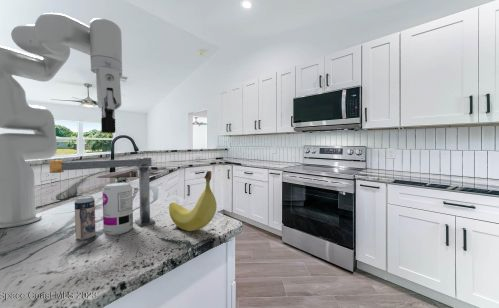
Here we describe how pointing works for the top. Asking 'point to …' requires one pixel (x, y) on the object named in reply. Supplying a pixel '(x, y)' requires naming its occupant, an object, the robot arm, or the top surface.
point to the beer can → (85, 217)
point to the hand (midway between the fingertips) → (108, 132)
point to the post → (144, 198)
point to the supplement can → (117, 208)
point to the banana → (195, 210)
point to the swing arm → (97, 164)
